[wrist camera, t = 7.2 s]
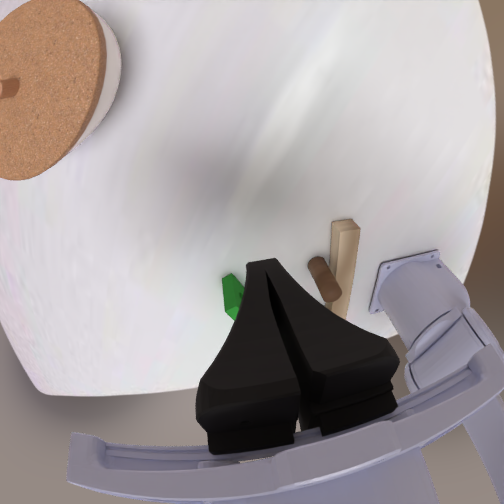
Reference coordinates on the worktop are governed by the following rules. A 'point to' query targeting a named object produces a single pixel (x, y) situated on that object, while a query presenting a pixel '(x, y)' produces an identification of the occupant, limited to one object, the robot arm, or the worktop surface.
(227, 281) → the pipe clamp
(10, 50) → the lidded jar
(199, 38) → the worktop surface
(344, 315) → the peg rack
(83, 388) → the worktop surface
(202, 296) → the worktop surface
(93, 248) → the worktop surface
